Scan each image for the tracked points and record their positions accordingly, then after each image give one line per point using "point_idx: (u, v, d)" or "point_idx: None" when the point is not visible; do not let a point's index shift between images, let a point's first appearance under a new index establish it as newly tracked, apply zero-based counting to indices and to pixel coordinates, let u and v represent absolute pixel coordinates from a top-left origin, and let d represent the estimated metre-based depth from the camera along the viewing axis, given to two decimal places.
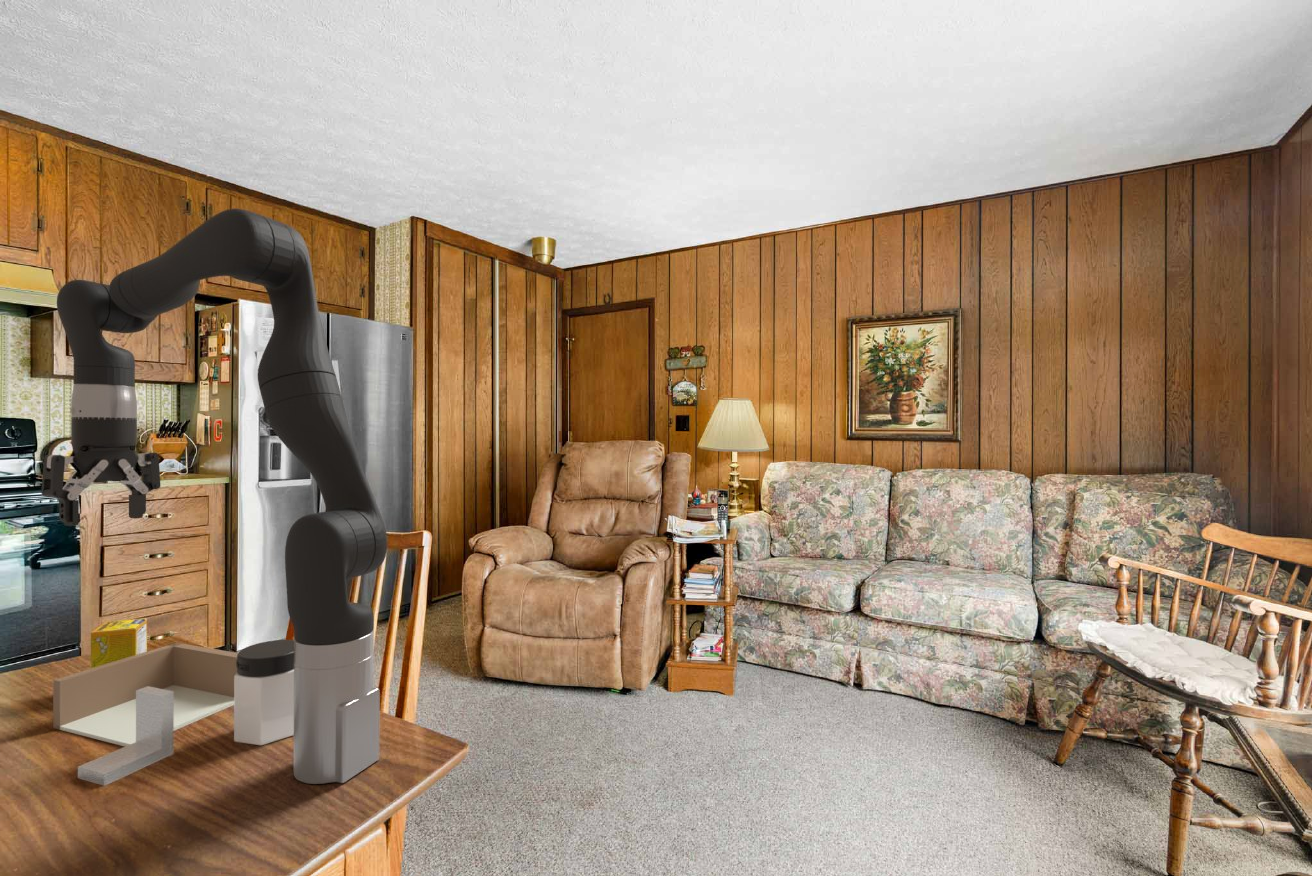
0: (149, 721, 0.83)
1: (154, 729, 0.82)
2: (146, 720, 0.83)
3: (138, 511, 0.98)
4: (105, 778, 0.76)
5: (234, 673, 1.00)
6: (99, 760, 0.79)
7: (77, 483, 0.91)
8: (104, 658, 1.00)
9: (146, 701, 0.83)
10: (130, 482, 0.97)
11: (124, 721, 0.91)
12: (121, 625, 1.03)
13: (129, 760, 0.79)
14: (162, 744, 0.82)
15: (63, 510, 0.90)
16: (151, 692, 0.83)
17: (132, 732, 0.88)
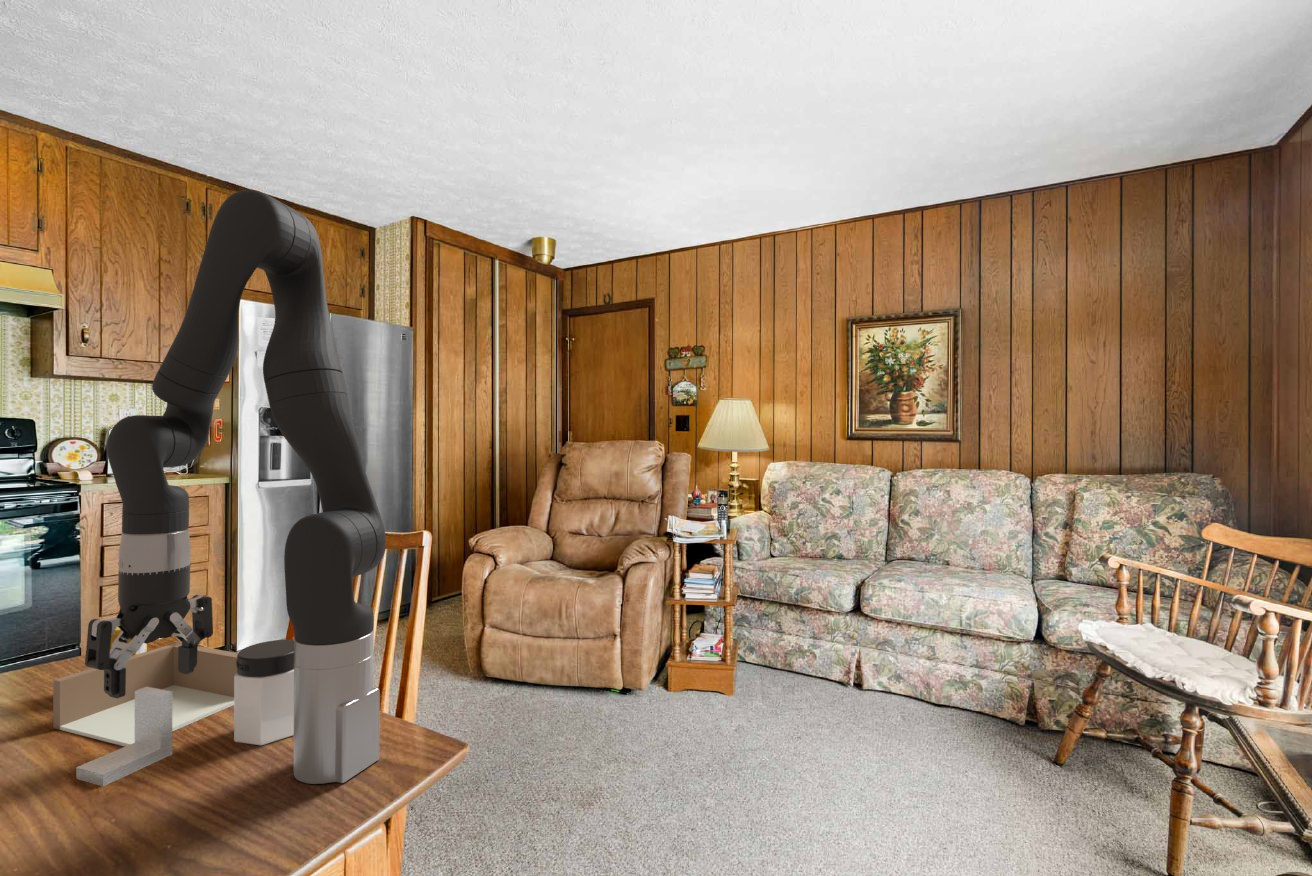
0: (148, 722, 0.83)
1: (153, 729, 0.82)
2: (144, 720, 0.83)
3: (189, 666, 0.87)
4: (104, 778, 0.76)
5: (234, 673, 1.00)
6: (98, 761, 0.79)
7: (125, 649, 0.79)
8: None
9: (145, 701, 0.83)
10: (181, 635, 0.86)
11: (124, 721, 0.91)
12: None
13: (127, 760, 0.79)
14: (161, 744, 0.82)
15: (109, 682, 0.78)
16: (150, 693, 0.83)
17: (132, 732, 0.88)
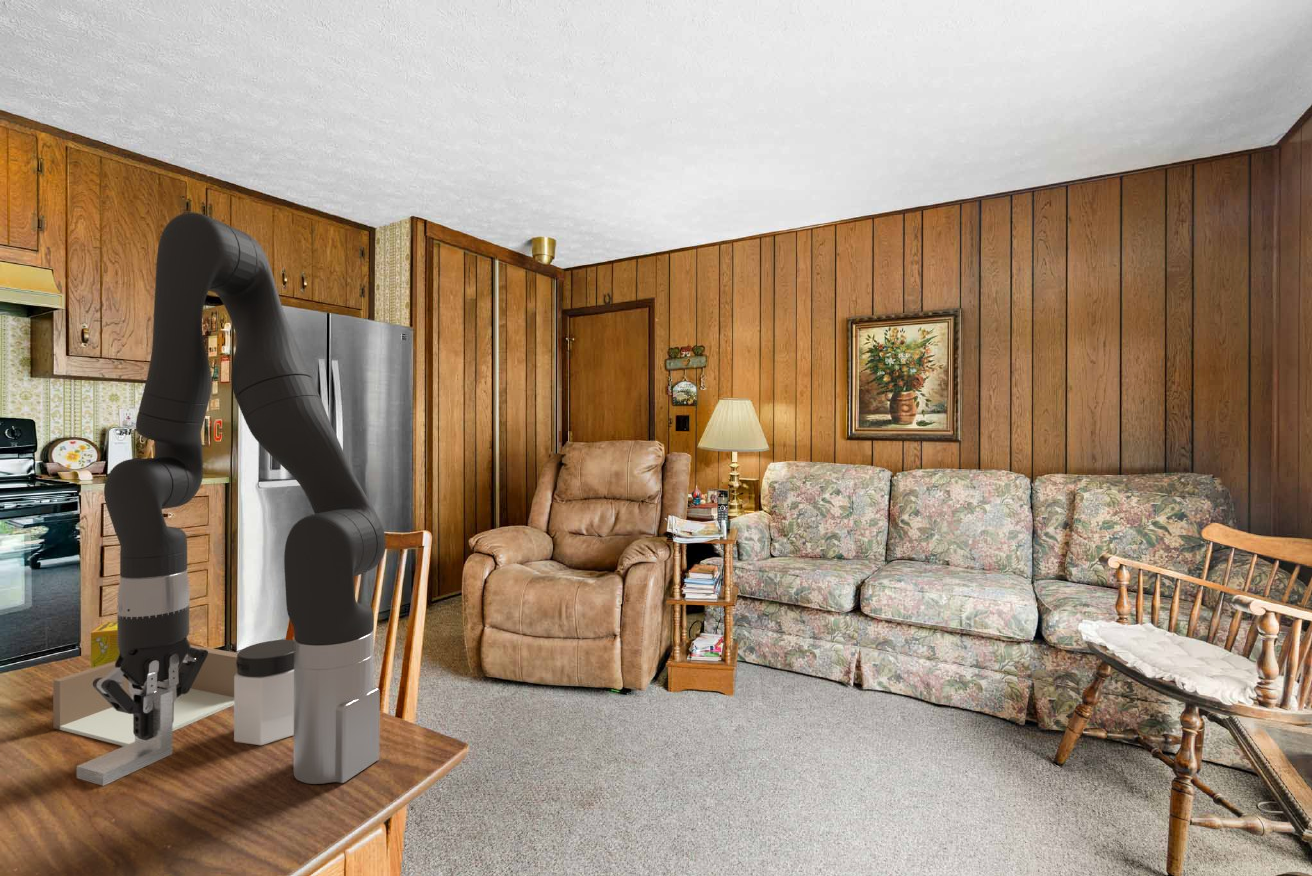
0: None
1: (153, 728, 0.82)
2: None
3: None
4: (104, 778, 0.76)
5: (234, 673, 1.00)
6: (98, 760, 0.79)
7: (143, 696, 0.81)
8: (104, 658, 1.00)
9: None
10: (165, 685, 0.84)
11: (124, 721, 0.91)
12: None
13: (128, 759, 0.79)
14: (161, 743, 0.82)
15: (139, 725, 0.81)
16: None
17: (132, 732, 0.88)
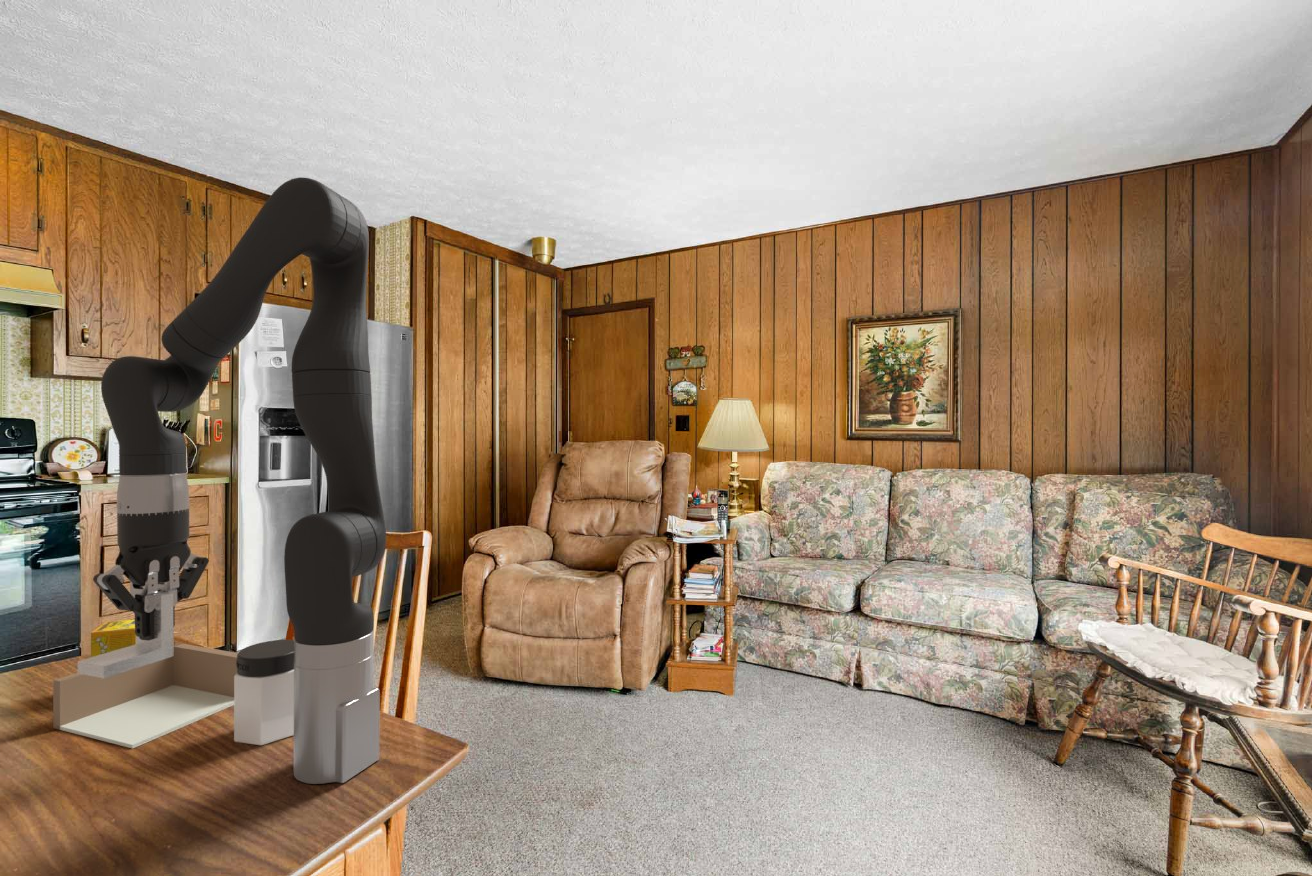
0: None
1: (154, 629, 0.82)
2: None
3: None
4: (105, 670, 0.76)
5: (234, 673, 1.00)
6: (99, 656, 0.79)
7: (144, 595, 0.81)
8: None
9: None
10: (166, 587, 0.84)
11: (124, 721, 0.91)
12: (121, 625, 1.03)
13: (129, 656, 0.79)
14: (162, 644, 0.82)
15: (140, 624, 0.81)
16: None
17: (132, 732, 0.88)
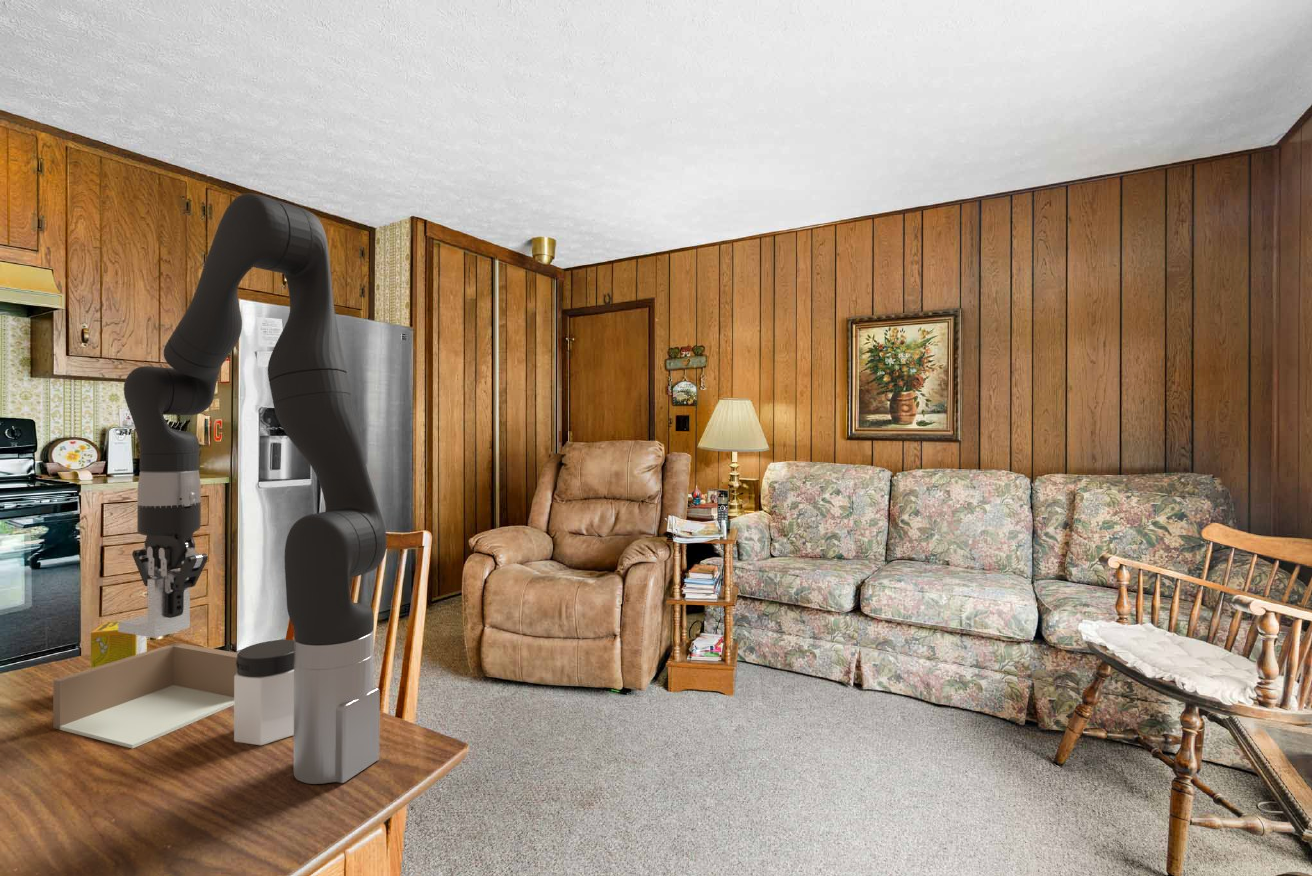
0: None
1: None
2: None
3: (165, 610, 0.92)
4: (119, 625, 0.94)
5: (234, 673, 1.00)
6: None
7: None
8: (104, 658, 1.00)
9: None
10: None
11: (124, 721, 0.91)
12: None
13: (137, 622, 0.93)
14: (148, 623, 0.92)
15: None
16: None
17: (132, 732, 0.88)
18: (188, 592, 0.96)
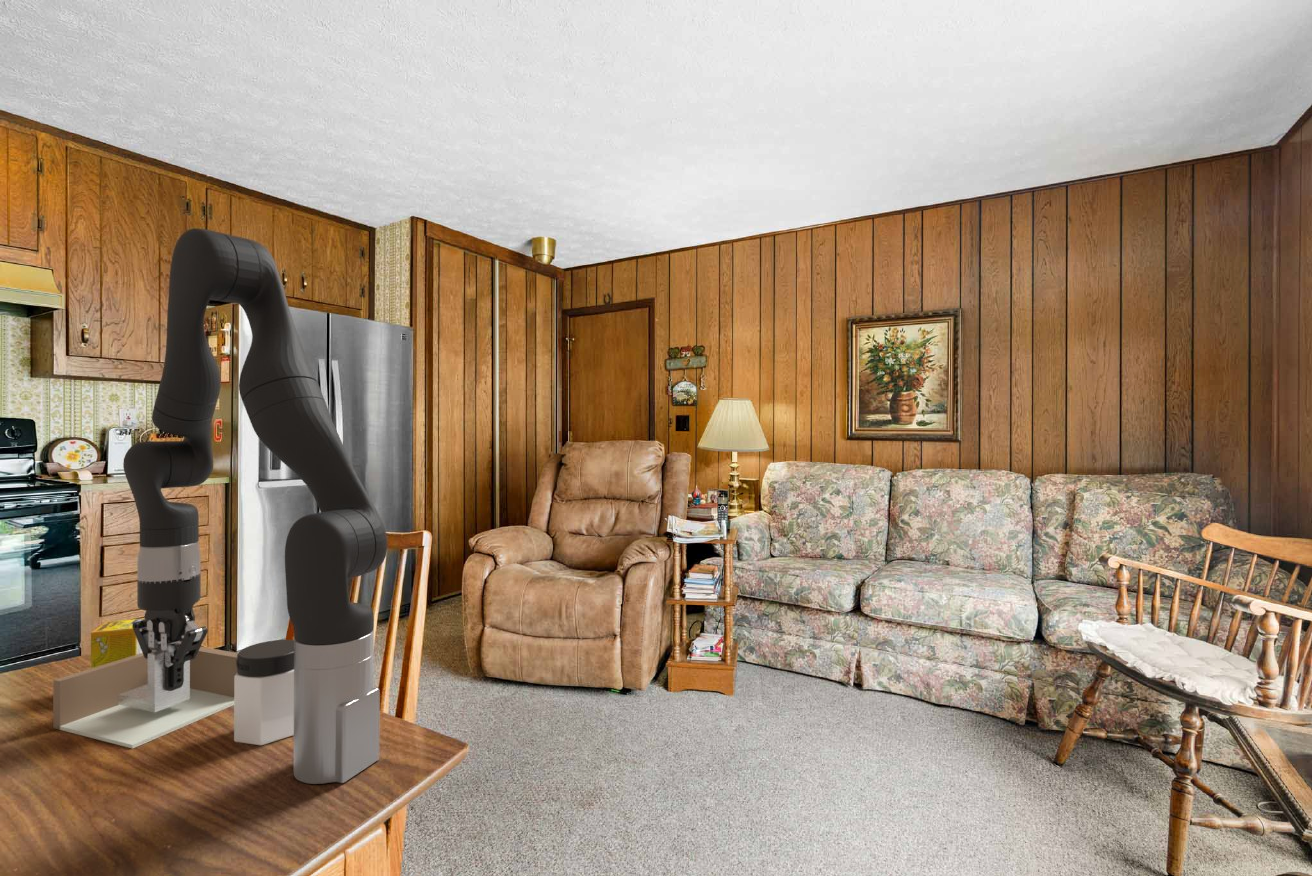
0: None
1: None
2: None
3: (165, 683, 0.93)
4: (119, 698, 0.94)
5: (234, 673, 1.00)
6: None
7: None
8: (104, 658, 1.00)
9: None
10: None
11: (124, 721, 0.91)
12: (121, 625, 1.03)
13: (137, 695, 0.93)
14: (148, 697, 0.92)
15: None
16: None
17: (132, 732, 0.88)
18: (188, 663, 0.96)
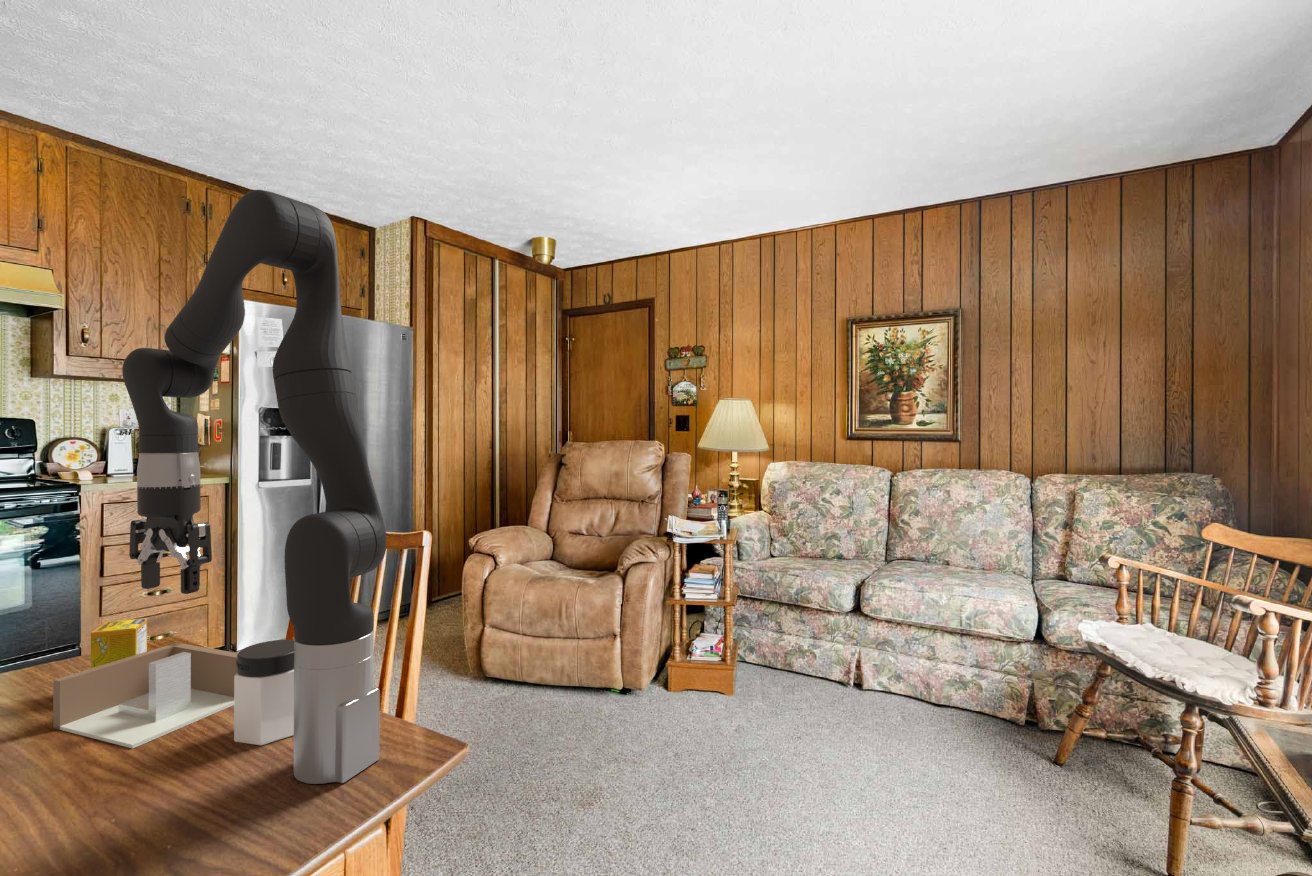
0: None
1: None
2: None
3: (181, 586, 0.91)
4: (120, 708, 0.94)
5: (234, 673, 1.00)
6: None
7: None
8: (104, 658, 1.00)
9: None
10: None
11: (124, 721, 0.91)
12: (121, 625, 1.03)
13: (138, 705, 0.93)
14: (149, 707, 0.92)
15: None
16: (165, 658, 0.94)
17: (132, 732, 0.88)
18: (189, 672, 0.96)
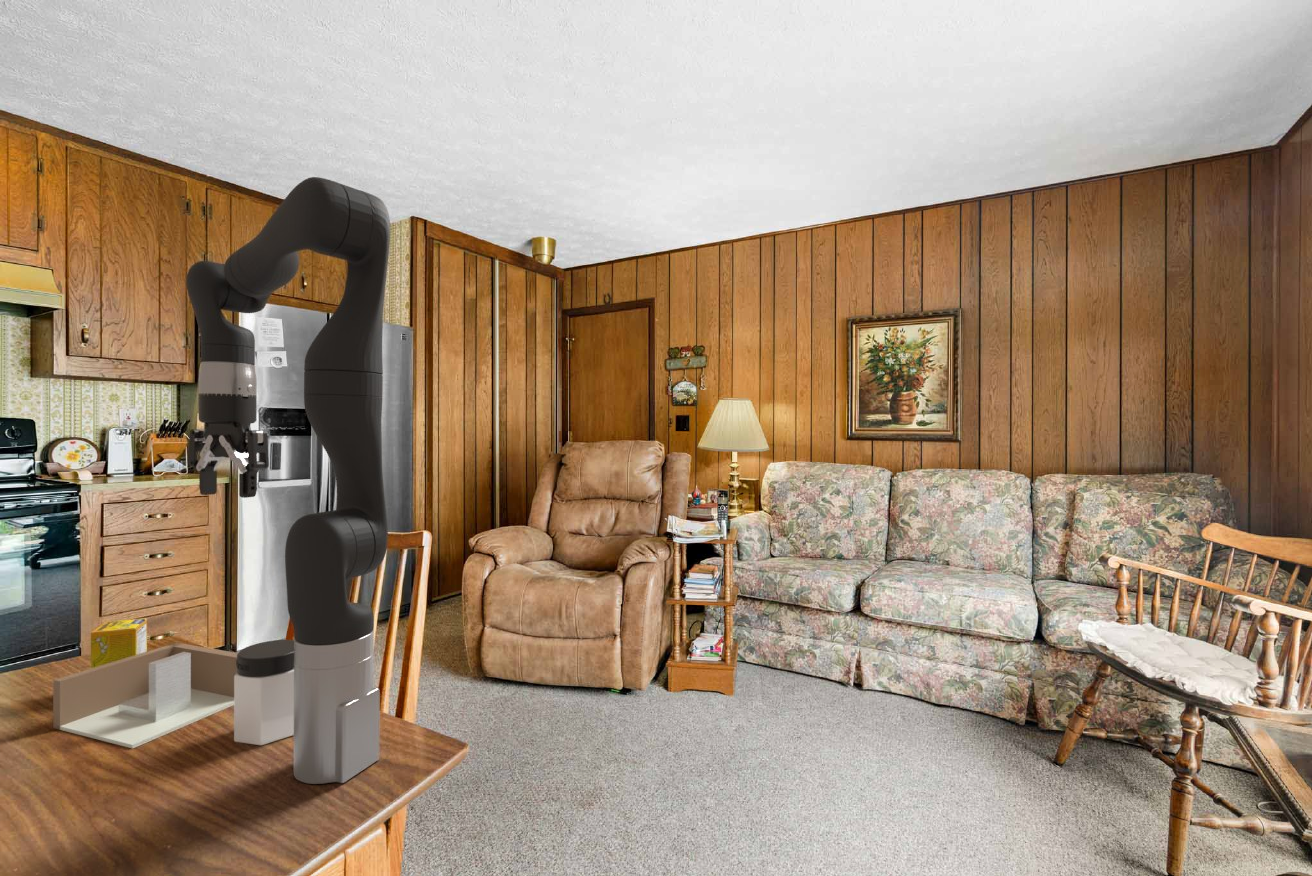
0: None
1: None
2: None
3: (240, 490, 0.96)
4: (120, 708, 0.94)
5: (234, 673, 1.00)
6: None
7: None
8: (104, 658, 1.00)
9: None
10: None
11: (124, 721, 0.91)
12: (121, 625, 1.03)
13: (138, 705, 0.93)
14: (149, 707, 0.92)
15: None
16: (165, 658, 0.94)
17: (132, 732, 0.88)
18: (189, 672, 0.96)
